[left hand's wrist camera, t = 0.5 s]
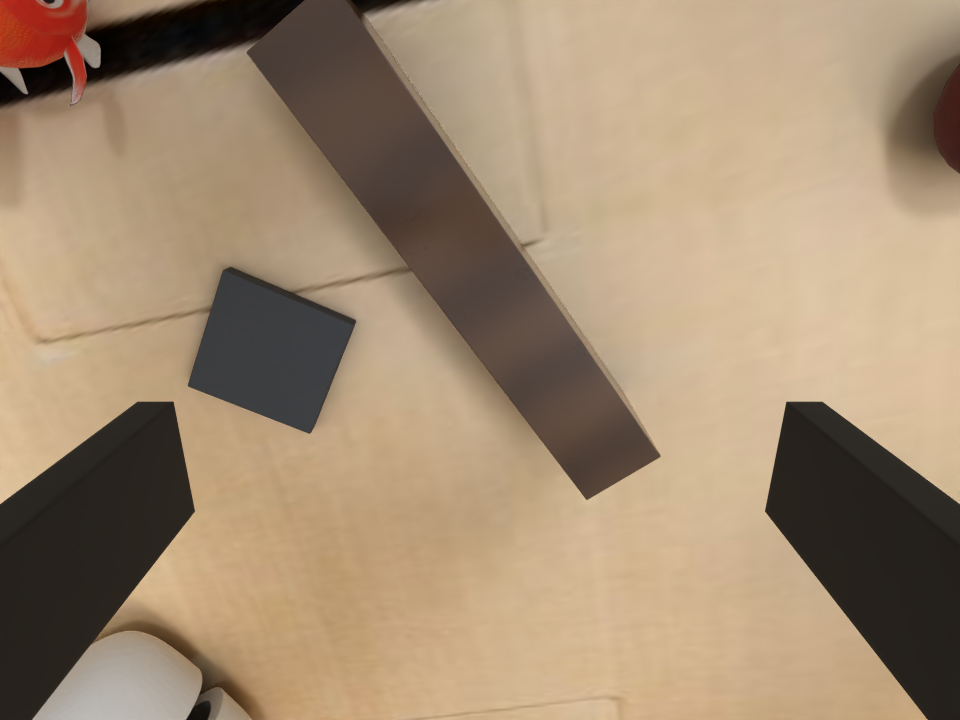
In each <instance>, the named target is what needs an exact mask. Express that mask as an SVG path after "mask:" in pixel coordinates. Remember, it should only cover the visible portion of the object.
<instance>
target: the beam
mask: <svg viewBox="0 0 960 720" xmlns="http://www.w3.org/2000/svg"><path fill="white" fill-rule="evenodd" d="M247 54H248V55H249V57H250V58H251V59H252V61H253V62H254V63H255V65H256V66H257V67H258V69H259V70H260V71H261V73H262V74H263V75H264V77H265V78H266V79H267V80H268V82H269V83H270V84H271V86H272V87H273V88H274V90H275V91H276V92H277V94H278V95H279V96H280V98H281V99H282V100H283V101H284V103H285V104H286V105H287V107H288V108H289V109H290V111H291V112H292V113H293V115H294V116H295V117H296V119H297V120H298V121H299V123H300V124H301V125H302V126H303V128H304V129H305V130H306V132H307V133H308V134H309V136H310V137H311V138H312V140H313V141H314V142H315V144H316V145H317V146H318V148H319V149H320V150H321V151H322V153H323V154H324V155H325V157H326V158H327V159H328V161H329V162H330V163H331V165H332V166H333V167H334V169H335V170H336V171H337V172H338V174H339V175H340V176H341V178H342V179H343V180H344V182H345V183H346V184H347V186H348V187H349V188H350V190H351V191H352V192H353V194H354V195H355V196H356V197H357V199H358V200H359V201H360V203H361V204H362V205H363V207H364V208H365V209H366V211H367V212H368V213H369V215H370V216H371V217H372V219H373V220H374V221H375V222H376V224H377V225H378V226H379V228H380V229H381V230H382V232H383V233H384V234H385V236H386V237H387V238H388V240H389V241H390V242H391V243H392V245H393V246H394V247H395V249H396V250H397V251H398V253H399V254H400V255H401V257H402V258H403V259H404V261H405V262H406V263H407V265H408V266H409V267H410V268H411V270H412V271H413V272H414V274H415V275H416V276H417V278H418V279H419V280H420V282H421V283H422V284H423V286H424V287H425V288H426V290H427V291H428V292H429V293H430V295H431V296H432V297H433V299H434V300H435V301H436V303H437V304H438V305H439V307H440V308H441V309H442V311H443V312H444V313H445V314H446V316H447V317H448V318H449V320H450V321H451V322H452V324H453V325H454V326H455V328H456V329H457V330H458V332H459V333H460V334H461V336H462V337H463V338H464V339H465V341H466V342H467V343H468V345H469V346H470V347H471V349H472V350H473V351H474V353H475V354H476V355H477V357H478V358H479V359H480V361H481V362H482V363H483V364H484V366H485V367H486V368H487V370H488V371H489V372H490V374H491V375H492V376H493V378H494V379H495V380H496V382H497V383H498V384H499V385H500V387H501V388H502V389H503V391H504V392H505V393H506V395H507V396H508V397H509V399H510V400H511V401H512V403H513V404H514V405H515V407H516V408H517V409H518V410H519V412H520V413H521V414H522V416H523V417H524V418H525V420H526V421H527V422H528V424H529V425H530V426H531V428H532V429H533V430H534V432H535V433H536V434H537V435H538V437H539V438H540V439H541V441H542V442H543V443H544V445H545V446H546V447H547V449H548V450H549V451H550V453H551V454H552V455H553V456H554V458H555V459H556V460H557V462H558V463H559V464H560V466H561V467H562V468H563V470H564V471H565V472H566V474H567V475H568V476H569V478H570V479H571V480H572V481H573V483H574V484H575V485H576V487H577V488H578V489H579V491H580V492H581V493H582V495H583V496H584V497H585V499H586V500H588V499H589V498H591V497H593V496H595V495H596V494H598V493H600V492H601V491H603V490H605V489H607V488H608V487H610V486H612V485H613V484H615V483H617V482H618V481H620V480H622V479H624V478H625V477H627V476H629V475H630V474H632V473H634V472H635V471H637V470H639V469H641V468H642V467H644V466H646V465H647V464H649V463H651V462H652V461H654V460H656V459H658V458H659V457H661V456H660V454H659V452H658V450H657V449H656V447H655V445H654V444H653V442H652V440H651V438H650V437H649V435H648V433H647V432H646V430H645V428H644V426H643V425H642V423H641V421H640V420H639V418H638V416H637V414H636V413H635V411H634V409H633V408H632V406H631V404H630V403H629V401H628V399H627V397H626V396H625V394H624V393H623V391H622V390H621V388H620V387H619V385H618V384H617V382H616V381H615V379H614V378H613V377H612V375H611V374H610V372H609V371H608V369H607V368H606V366H605V365H604V363H603V362H602V361H601V359H600V358H599V356H598V355H597V353H596V352H595V350H594V349H593V347H592V346H591V344H590V343H589V342H588V340H587V339H586V337H585V336H584V334H583V333H582V331H581V330H580V328H579V327H578V325H577V324H576V323H575V321H574V320H573V318H572V317H571V315H570V314H569V312H568V311H567V309H566V308H565V307H564V305H563V304H562V302H561V301H560V299H559V298H558V296H557V295H556V293H555V292H554V290H553V289H552V288H551V286H550V285H549V283H548V282H547V280H546V279H545V277H544V276H543V274H542V273H541V272H540V270H539V269H538V267H537V266H536V264H535V263H534V261H533V260H532V258H531V257H530V255H529V254H528V253H527V251H526V250H525V248H524V247H523V245H522V244H521V242H520V241H519V239H518V238H517V236H516V235H515V234H514V232H513V231H512V229H511V228H510V226H509V225H508V223H507V222H506V220H505V219H504V218H503V216H502V215H501V213H500V212H499V210H498V209H497V207H496V206H495V204H494V203H493V201H492V200H491V199H490V197H489V196H488V194H487V193H486V191H485V190H484V188H483V187H482V185H481V184H480V183H479V181H478V180H477V178H476V177H475V175H474V174H473V172H472V171H471V169H470V168H469V166H468V165H467V164H466V162H465V161H464V159H463V158H462V156H461V155H460V153H459V152H458V150H457V149H456V147H455V146H454V145H453V143H452V142H451V140H450V139H449V137H448V136H447V134H446V133H445V131H444V130H443V129H442V127H441V126H440V124H439V123H438V121H437V120H436V118H435V117H434V115H433V114H432V112H431V111H430V110H429V108H428V107H427V105H426V104H425V102H424V101H423V99H422V98H421V96H420V95H419V94H418V92H417V91H416V89H415V88H414V86H413V85H412V83H411V82H410V80H409V79H408V77H407V76H406V75H405V73H404V72H403V70H402V69H401V67H400V66H399V64H398V63H397V61H396V60H395V58H394V57H393V56H392V54H391V53H390V51H389V50H388V48H387V47H386V45H385V44H384V42H383V41H382V40H381V38H380V37H379V35H378V34H377V32H376V31H375V29H374V28H373V26H372V25H371V23H370V22H369V21H368V19H367V18H366V17H365V16H364V15H363V14H362V12H361V11H360V10H359V9H358V8H357V7H356V6H355V4H354V3H353V2H352V1H351V0H305V1H303V2H302V3H301V4H300V5H299V6H298V7H297V8H296V9H294V10H293V11H292V12H291V13H290V14H289V15H288V16H287V17H285V18H284V19H283V20H282V21H281V22H280V23H279V24H278V25H276V26H275V27H274V28H273V29H272V30H271V31H270V32H268V33H267V34H266V35H265V36H264V37H263V38H262V39H261V40H259V41H258V42H257V43H256V44H255V45H254V46H253V47H252V48H250V49H249V50H248V51H247Z"/></svg>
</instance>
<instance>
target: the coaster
mask: <svg viewBox="0 0 960 720" xmlns="http://www.w3.org/2000/svg"><path fill="white" fill-rule="evenodd" d="M355 323H356V321H355V320H354V319H351V318H349V317H347V316H344V315H342V314H339V313H337V312H335V311H332V310H330V309H328V308H325V307H323V306H321V305H318V304H316V303H314V302H311V301H309V300H306V299H304V298H302V297H299V296H297V295H295V294H292V293H290V292H288V291H285V290H283V289H280V288H278V287H276V286H273V285H271V284H269V283H266V282H264V281H262V280H259V279H257V278H255V277H252V276H250V275H247V274H245V273H243V272H240V271H238V270H236V269H233V268H231V267H229V268H227V269H225V270H223V273H222V276H221V279H220V282H219V286H218V289H217V292H216V295H215V299H214V302H213V305H212V308H211V312H210V315H209V318H208V321H207V325H206V328H205V331H204V334H203V338H202V341H201V344H200V347H199V351H198V354H197V357H196V360H195V364H194V367H193V370H192V373H191V377H190V380H189V383H188V386H189V387H191V388H194V389H196V390H199V391H201V392H204V393H206V394H209V395H212V396H214V397H217V398H219V399H222V400H224V401H227V402H230V403H232V404H235V405H237V406H240V407H242V408H245V409H247V410H250V411H253V412H255V413H258V414H260V415H263V416H265V417H268V418H271V419H273V420H276V421H278V422H281V423H283V424H286V425H289V426H291V427H294V428H296V429H299V430H301V431H304V432H307V433H311V431H312V430H313V428H314V426H315V424H316V421H317V419H318V416H319V414H320V411H321V409H322V406H323V403H324V401H325V398H326V396H327V393H328V391H329V388H330V386H331V383H332V381H333V378H334V376H335V373H336V371H337V368H338V366H339V363H340V361H341V358H342V356H343V353H344V351H345V348H346V346H347V343H348V341H349V338H350V336H351V333H352V330H353V328H354V325H355Z"/></svg>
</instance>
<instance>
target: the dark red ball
mask: <svg viewBox="0 0 960 720" xmlns="http://www.w3.org/2000/svg"><path fill="white" fill-rule="evenodd" d="M934 136H935V139H936V142H937V146H938V149H939V152H940V153H941V155H942V156H943V158H944V159H945V160H946V162H947V163H948V165H949V166H951V167H952V168H953V169H955V170H956V171H957V172H959V173H960V64H959V66H958V67H957V68H956V70H955V71H954V73H953V74H952V75H951V77H950V78H949V80H948V81H947V82H946V84H945V87H944V89H943V92H942V95H941V97H940V100H939V102H938V105H937V107H936V110H935V112H934Z"/></svg>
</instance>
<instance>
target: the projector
mask: <svg viewBox="0 0 960 720" xmlns="http://www.w3.org/2000/svg"><path fill="white" fill-rule="evenodd" d="M201 686H202V674H201V671H200V669H199V668H197V667H196V666H195V665H194V664H193V663H191V662H190V661H189V660H188V659H187V658H185V657H184V656H183V655H182V654H180V653H179V652H178V651H177V650H175V649H174V648H173V647H171V646H170V645H168V644H167V643H165V642H164V641H162V640H160V639H159V638H157V637H154V636H152V635H150V634H147V633H144V632H140V631H123V632H118V633H115V634H112V635H110V636H107V637H105V638H103V639H101V640H99V641H97V642H95V643H93V644H91V645H90V646H89V648H88V649H87V650H86V651H85V653H84V654H83V655H82V657H81V658H80V659H79V660H78V662H77V663H76V664H75V666H74V667H73V668H72V669H71V671H70V672H69V673H68V674H67V676H66V677H65V678H64V680H63V681H62V682H61V683H60V685H59V686H58V687H57V689H56V690H55V691H54V692H53V694H52V695H51V696H50V698H49V699H48V700H47V701H46V703H45V704H44V705H43V706H42V708H41V709H40V710H39V712H38V713H37V714H36V715H35V717H34V718H33V719H32V720H252V719H251V717H250V716H249V715H248V714H247V713H246V712H245V711H244V709H243V708H241V707H240V706H239V705H238V704H237V703H236V702H235V701H234V700H233V699H232V698H231V697H230V696H229V695H228V694H227V693H226V692H225V691H224V690H222V689H221V688H220V687H216V688H212V689H210V690H208V691H206V692H204V693H202V694H201V695H199V693H200V690H201ZM198 695H199V696H198Z"/></svg>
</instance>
